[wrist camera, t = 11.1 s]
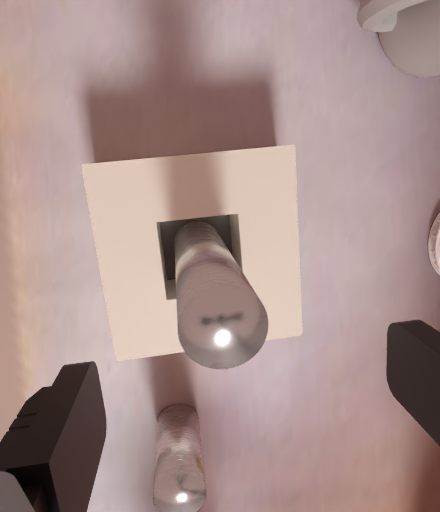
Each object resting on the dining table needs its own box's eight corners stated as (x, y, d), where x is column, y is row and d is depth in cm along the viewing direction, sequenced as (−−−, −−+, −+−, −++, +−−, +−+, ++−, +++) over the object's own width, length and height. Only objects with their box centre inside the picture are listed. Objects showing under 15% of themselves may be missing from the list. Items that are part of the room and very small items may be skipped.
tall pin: (218, 218, 27) (265, 278, 13) (222, 262, 28) (270, 362, 14) (171, 223, 26) (172, 290, 13) (177, 268, 27) (183, 375, 14)
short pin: (196, 400, 30) (203, 470, 23) (200, 435, 31) (208, 512, 24) (154, 407, 30) (149, 479, 23) (160, 442, 31) (157, 522, 24)
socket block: (276, 146, 26) (295, 144, 22) (285, 311, 29) (302, 335, 25) (94, 163, 25) (80, 164, 21) (123, 333, 28) (115, 361, 24)
